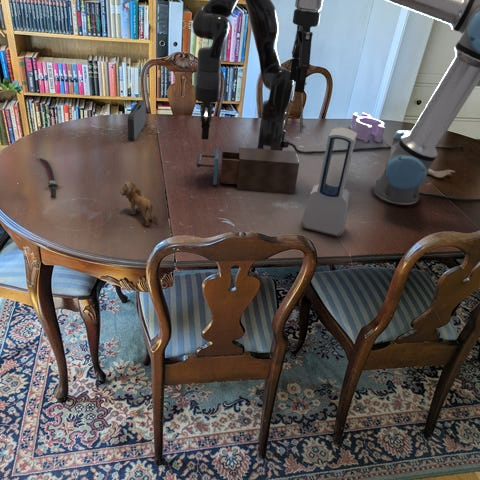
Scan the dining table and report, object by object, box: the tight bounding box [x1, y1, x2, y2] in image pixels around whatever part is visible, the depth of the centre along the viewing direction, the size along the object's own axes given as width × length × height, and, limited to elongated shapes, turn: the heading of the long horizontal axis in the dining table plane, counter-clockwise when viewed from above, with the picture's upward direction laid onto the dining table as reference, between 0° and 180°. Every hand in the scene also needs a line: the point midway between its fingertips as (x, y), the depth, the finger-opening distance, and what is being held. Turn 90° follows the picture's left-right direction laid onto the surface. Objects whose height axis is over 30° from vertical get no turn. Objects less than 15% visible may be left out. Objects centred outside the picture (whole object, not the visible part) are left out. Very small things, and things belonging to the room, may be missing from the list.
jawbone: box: [427, 168, 456, 179], centre depth 185 cm, size 9×20×2 cm, turn 50°
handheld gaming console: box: [127, 99, 147, 141], centre depth 190 cm, size 23×3×10 cm, turn 178°
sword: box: [40, 158, 59, 198], centre depth 151 cm, size 31×3×1 cm, turn 26°
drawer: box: [196, 148, 239, 186], centre depth 158 cm, size 24×9×9 cm, turn 91°
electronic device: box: [300, 127, 357, 237], centre depth 132 cm, size 12×8×30 cm, turn 71°
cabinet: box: [235, 147, 300, 194], centre depth 159 cm, size 20×10×11 cm, turn 91°
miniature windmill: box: [284, 81, 308, 132], centre depth 206 cm, size 9×8×30 cm
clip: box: [349, 112, 386, 143], centre depth 214 cm, size 20×12×7 cm, turn 11°
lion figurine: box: [119, 181, 159, 227], centre depth 134 cm, size 15×5×9 cm, turn 50°
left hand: (205, 138), depth 152 cm, fingers closed
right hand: (296, 86), depth 143 cm, fingers open, 13 cm apart
